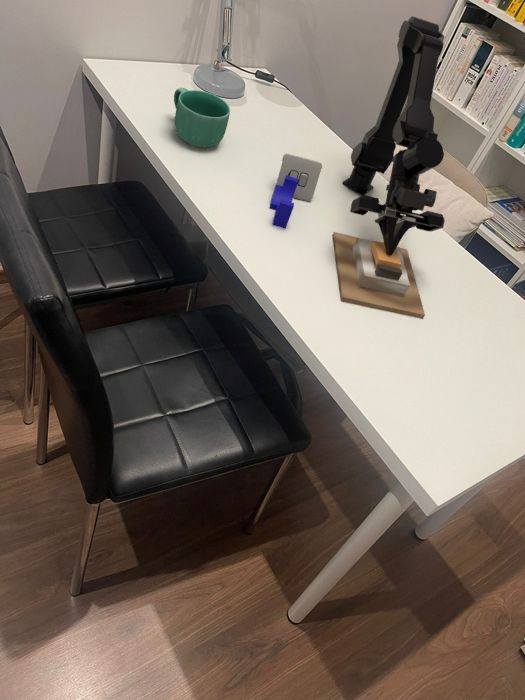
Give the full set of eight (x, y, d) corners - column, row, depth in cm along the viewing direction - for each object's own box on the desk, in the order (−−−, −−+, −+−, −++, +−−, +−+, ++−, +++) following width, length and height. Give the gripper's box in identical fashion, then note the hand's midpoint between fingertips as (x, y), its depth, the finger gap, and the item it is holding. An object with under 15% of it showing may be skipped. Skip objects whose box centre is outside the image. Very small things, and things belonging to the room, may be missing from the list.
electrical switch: (273, 193, 135) (284, 156, 129) (272, 184, 139) (283, 147, 133) (311, 203, 137) (324, 167, 131) (309, 193, 141) (321, 157, 135)
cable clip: (272, 195, 135) (279, 173, 130) (290, 201, 135) (298, 179, 131) (265, 223, 126) (273, 200, 122) (285, 229, 127) (293, 206, 122)
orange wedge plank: (370, 246, 123) (373, 240, 122) (392, 251, 124) (395, 245, 123) (376, 265, 118) (379, 259, 117) (398, 270, 119) (401, 264, 118)
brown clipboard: (332, 235, 130) (341, 213, 125) (405, 252, 133) (416, 231, 129) (340, 300, 115) (352, 278, 111) (422, 318, 118) (436, 297, 114)
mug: (231, 151, 143) (240, 115, 136) (189, 156, 136) (196, 118, 129) (197, 116, 150) (204, 81, 143) (154, 119, 143) (160, 82, 136)
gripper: (377, 158, 108) (361, 239, 109) (465, 181, 112) (449, 260, 112) (356, 172, 119) (342, 246, 120) (437, 194, 123) (423, 265, 123)
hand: (389, 254), depth 118 cm, fingers closed
